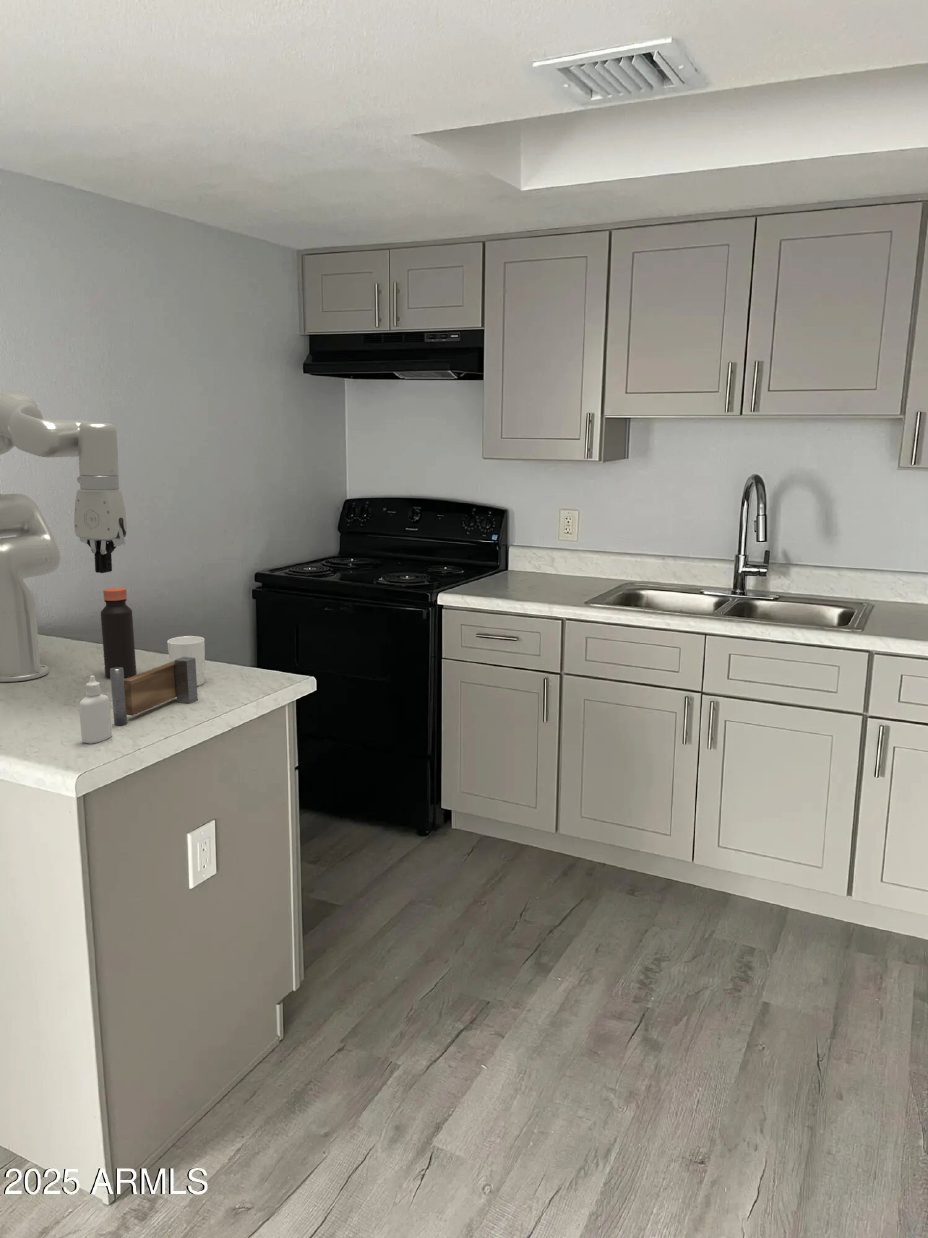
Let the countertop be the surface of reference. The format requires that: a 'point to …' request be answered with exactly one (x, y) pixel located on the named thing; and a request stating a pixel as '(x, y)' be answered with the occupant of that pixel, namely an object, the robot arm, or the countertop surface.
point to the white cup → (189, 652)
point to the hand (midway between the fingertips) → (103, 571)
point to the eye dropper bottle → (95, 714)
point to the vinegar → (118, 632)
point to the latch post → (186, 680)
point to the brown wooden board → (150, 688)
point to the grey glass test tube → (118, 696)
